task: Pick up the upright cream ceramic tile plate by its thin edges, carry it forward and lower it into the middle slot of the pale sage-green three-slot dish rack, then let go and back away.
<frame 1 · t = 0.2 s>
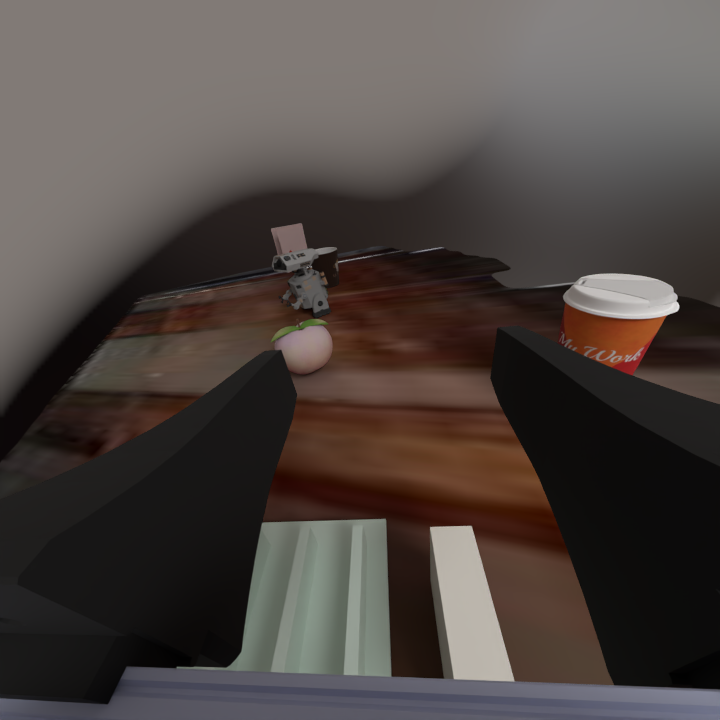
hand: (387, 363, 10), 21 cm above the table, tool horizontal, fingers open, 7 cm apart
figurine: (308, 314, 71), on the table
tile plate: (462, 665, 18), on the table
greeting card: (297, 268, 112), on the table
decorative fruit: (313, 374, 48), on the table
coffee cup: (576, 407, 35), on the table
coffee mug: (331, 283, 90), on the table
dish rack: (266, 659, 19), on the table
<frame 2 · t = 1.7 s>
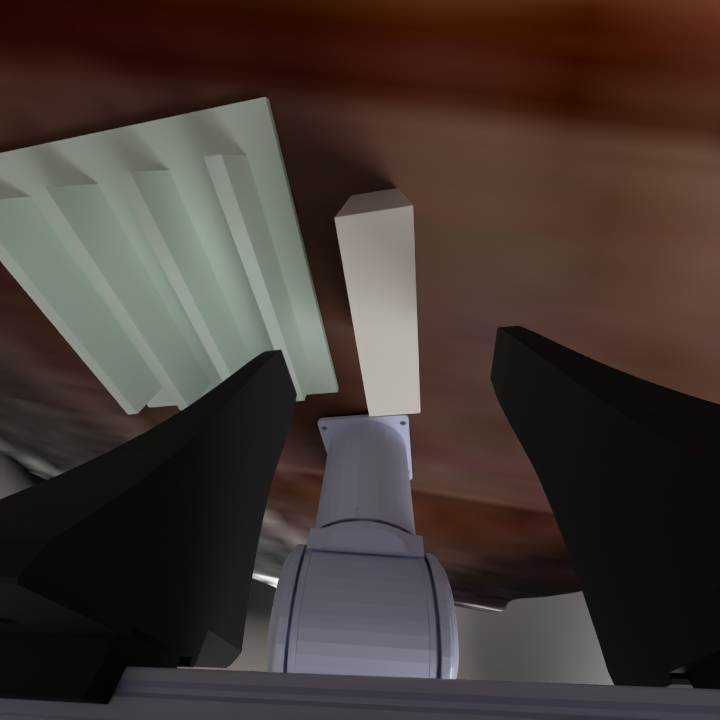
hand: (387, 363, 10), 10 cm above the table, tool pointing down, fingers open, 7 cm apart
tile plate: (381, 273, 18), on the table
dish rack: (193, 297, 20), on the table
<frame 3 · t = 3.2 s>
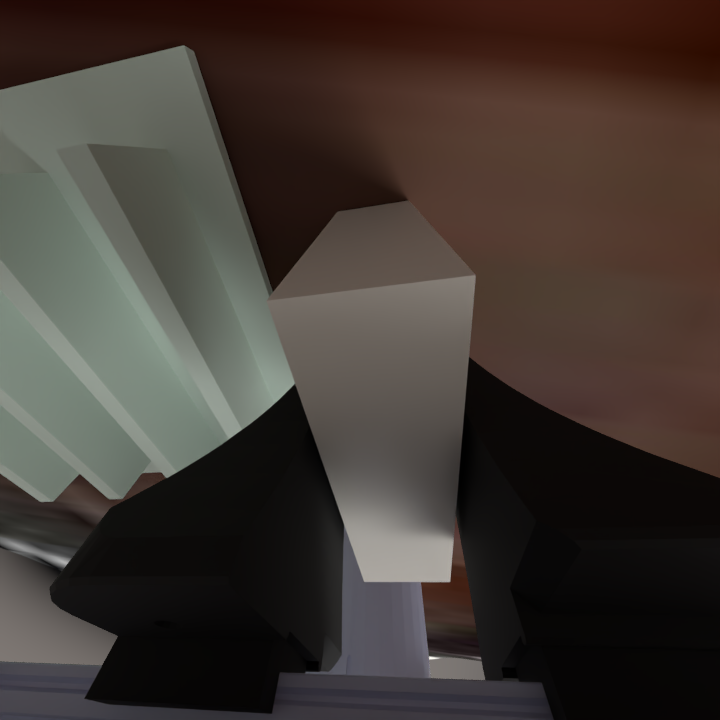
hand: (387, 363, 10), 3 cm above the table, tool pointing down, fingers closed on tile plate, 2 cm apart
tile plate: (384, 321, 12), on the table, touching gripper
dish rack: (120, 350, 14), on the table
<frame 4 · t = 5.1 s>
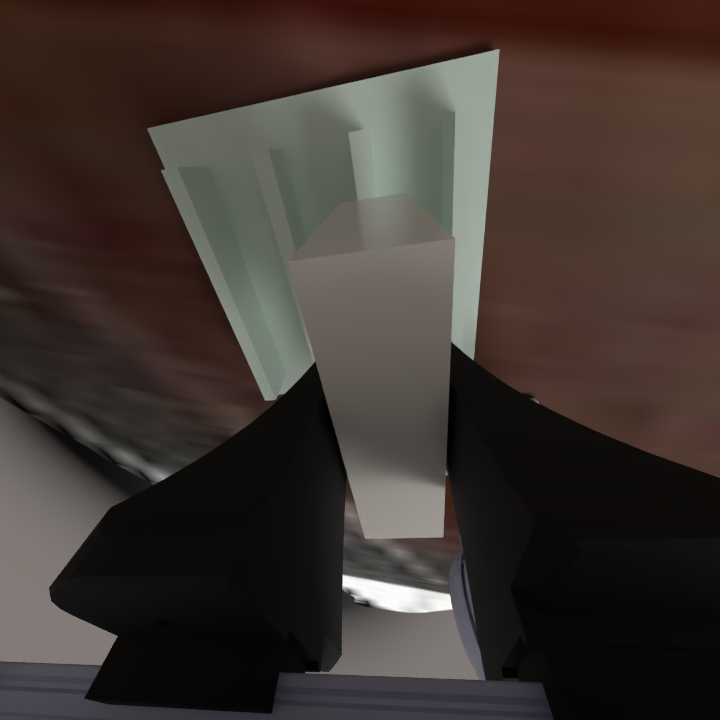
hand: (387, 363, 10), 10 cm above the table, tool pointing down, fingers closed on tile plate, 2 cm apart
tile plate: (384, 307, 13), point 6 cm above the table, touching gripper
dish rack: (345, 276, 19), on the table
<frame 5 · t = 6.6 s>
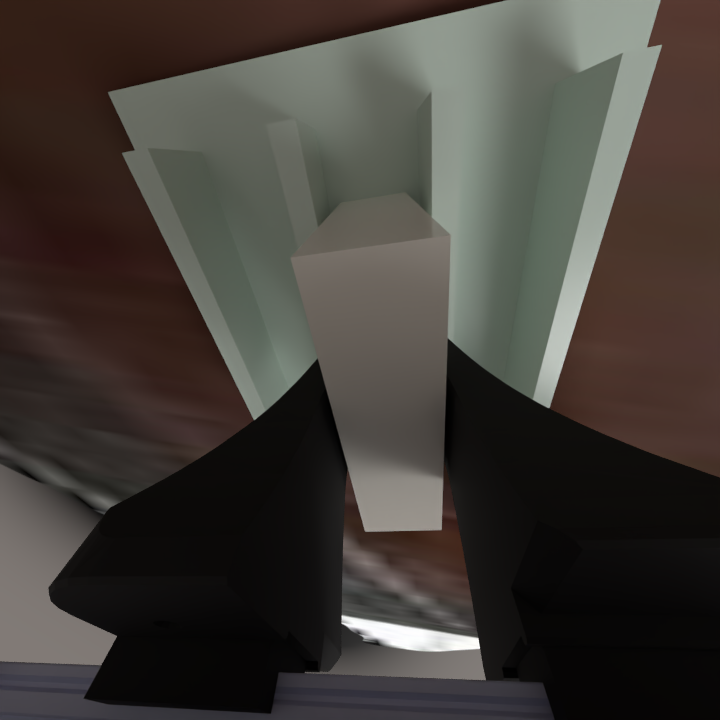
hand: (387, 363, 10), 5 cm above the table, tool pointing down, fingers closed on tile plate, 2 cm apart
tile plate: (383, 305, 13), resting on dish rack, touching gripper
dish rack: (384, 304, 14), on the table
when the fingers open (5 cm above the table, at t = 7.4 s): tile plate stays where it is, resting on dish rack.
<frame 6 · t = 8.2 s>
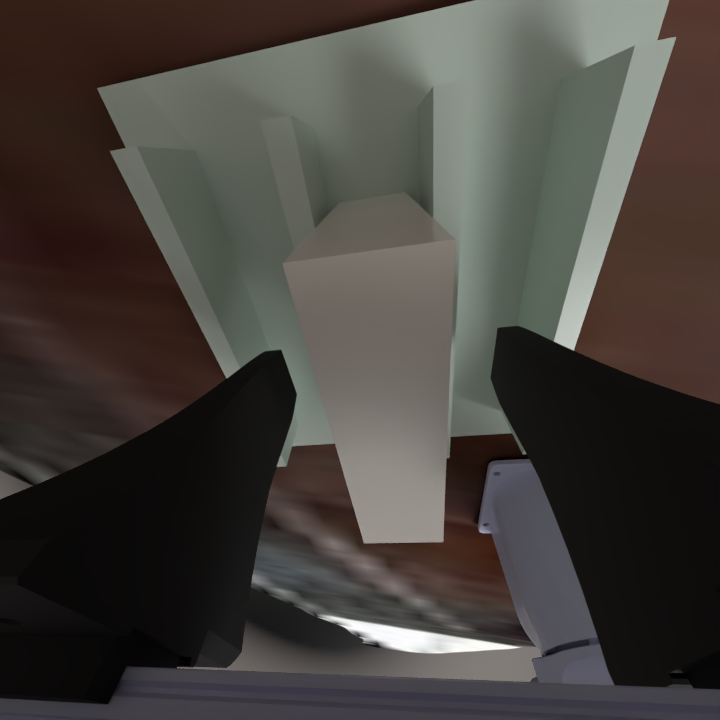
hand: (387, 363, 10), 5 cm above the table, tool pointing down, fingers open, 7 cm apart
tile plate: (383, 308, 13), resting on dish rack
dish rack: (384, 307, 14), on the table
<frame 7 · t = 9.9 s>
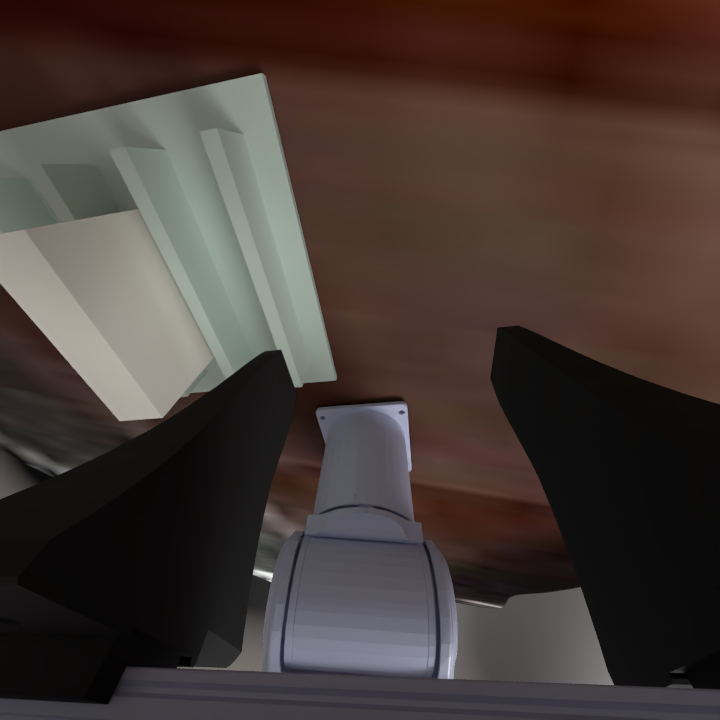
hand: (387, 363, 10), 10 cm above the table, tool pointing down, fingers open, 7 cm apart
tile plate: (184, 283, 19), resting on dish rack
dish rack: (190, 283, 19), on the table
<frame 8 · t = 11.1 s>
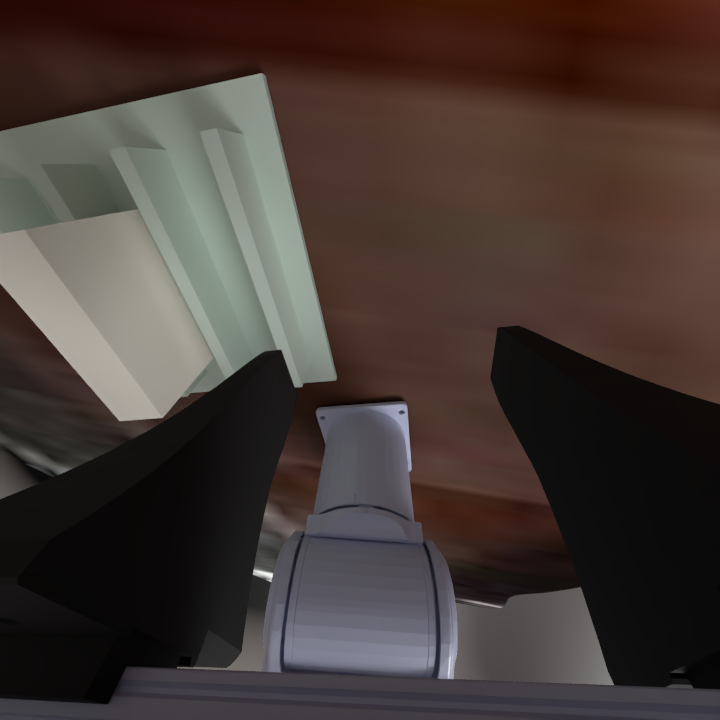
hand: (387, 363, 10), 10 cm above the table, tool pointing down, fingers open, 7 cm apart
tile plate: (184, 283, 19), resting on dish rack
dish rack: (190, 283, 19), on the table
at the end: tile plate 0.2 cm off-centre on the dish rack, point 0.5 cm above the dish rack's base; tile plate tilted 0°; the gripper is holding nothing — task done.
